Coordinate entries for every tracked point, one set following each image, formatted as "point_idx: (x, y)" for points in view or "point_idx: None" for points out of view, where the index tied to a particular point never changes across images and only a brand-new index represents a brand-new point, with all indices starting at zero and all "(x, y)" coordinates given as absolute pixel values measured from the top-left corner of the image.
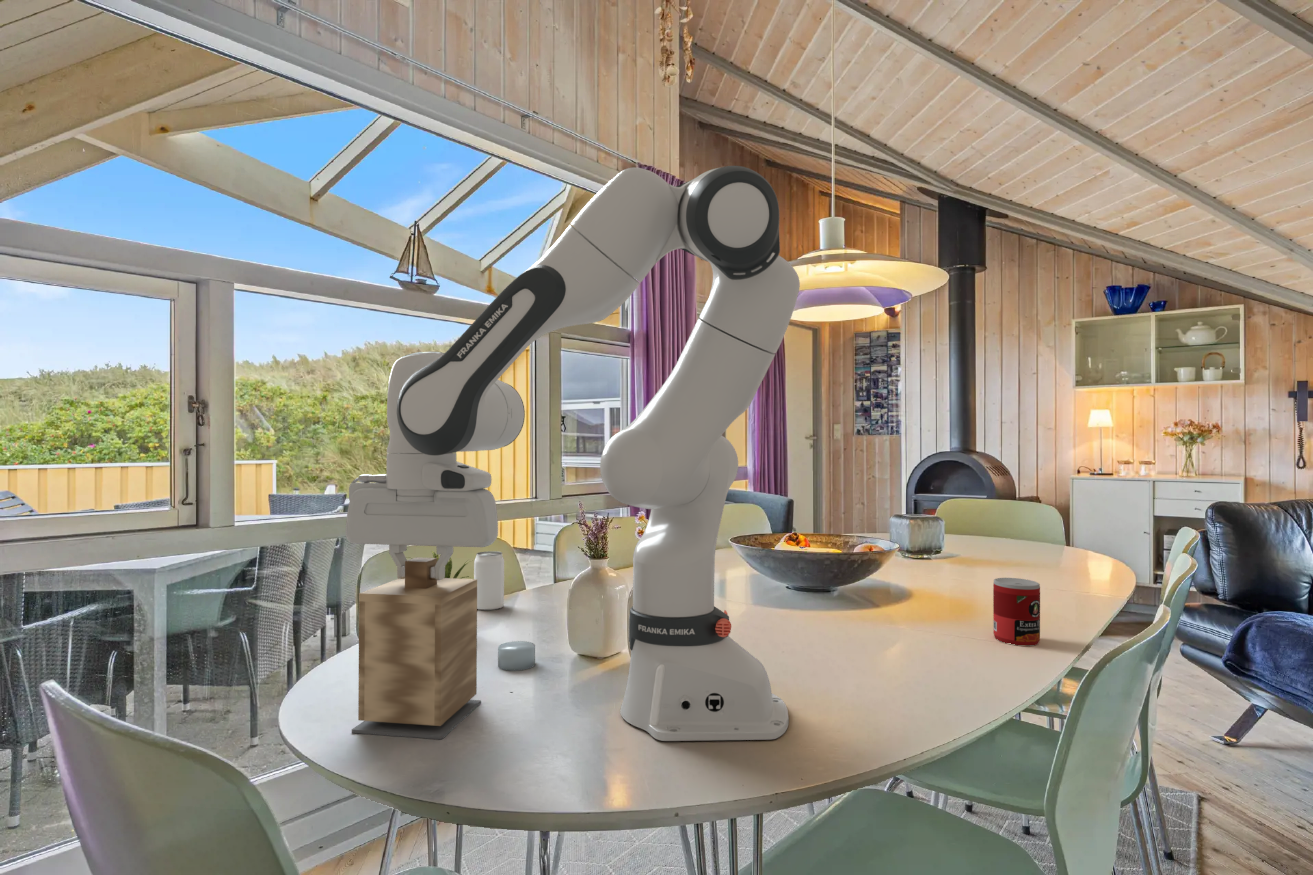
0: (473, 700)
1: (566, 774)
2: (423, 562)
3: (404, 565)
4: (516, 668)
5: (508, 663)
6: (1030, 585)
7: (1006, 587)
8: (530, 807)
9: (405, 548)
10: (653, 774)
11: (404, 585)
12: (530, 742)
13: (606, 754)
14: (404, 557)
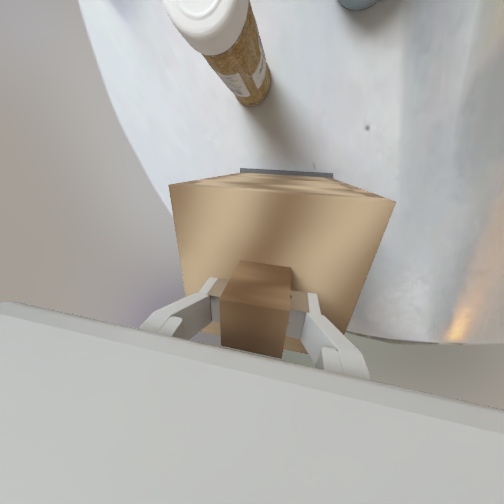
0: (324, 175)
1: (421, 306)
2: (272, 355)
3: (212, 313)
4: (371, 4)
5: (358, 1)
6: None
7: None
8: (392, 335)
9: (179, 330)
10: (499, 309)
11: (227, 279)
12: (393, 260)
13: (465, 280)
14: (191, 308)
